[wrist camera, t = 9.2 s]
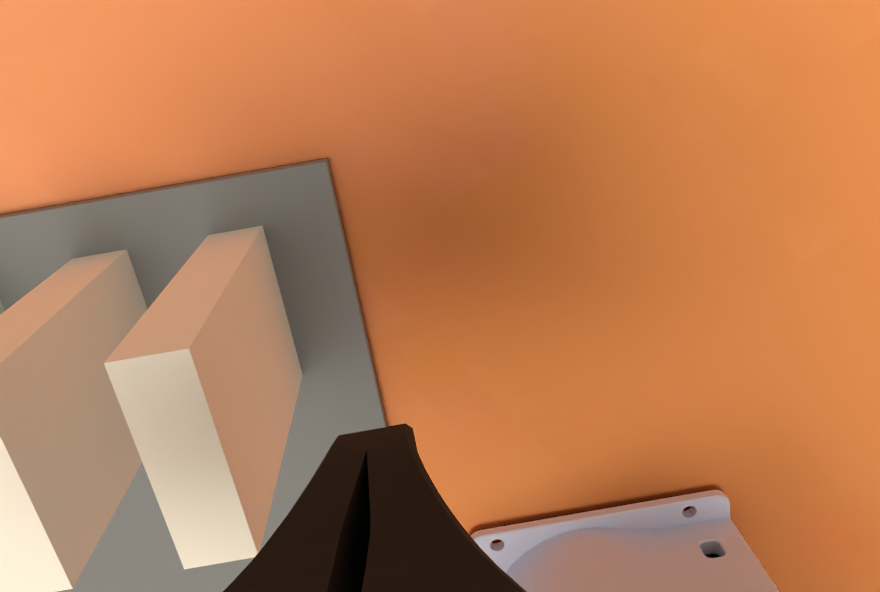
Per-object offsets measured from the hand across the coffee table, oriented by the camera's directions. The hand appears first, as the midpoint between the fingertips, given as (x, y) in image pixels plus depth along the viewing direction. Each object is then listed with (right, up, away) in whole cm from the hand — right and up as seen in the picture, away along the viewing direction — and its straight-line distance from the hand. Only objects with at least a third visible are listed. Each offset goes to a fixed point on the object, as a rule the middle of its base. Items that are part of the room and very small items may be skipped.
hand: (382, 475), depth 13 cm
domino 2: (-4, +3, +9) cm, 10 cm away
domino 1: (-8, +2, +9) cm, 12 cm away
